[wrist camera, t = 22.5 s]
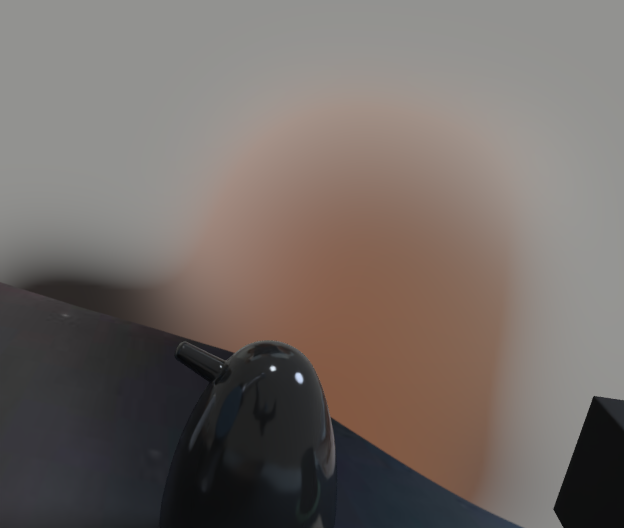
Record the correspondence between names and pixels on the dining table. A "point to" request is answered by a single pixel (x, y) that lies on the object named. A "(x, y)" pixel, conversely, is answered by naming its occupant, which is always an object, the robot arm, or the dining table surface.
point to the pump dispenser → (253, 444)
